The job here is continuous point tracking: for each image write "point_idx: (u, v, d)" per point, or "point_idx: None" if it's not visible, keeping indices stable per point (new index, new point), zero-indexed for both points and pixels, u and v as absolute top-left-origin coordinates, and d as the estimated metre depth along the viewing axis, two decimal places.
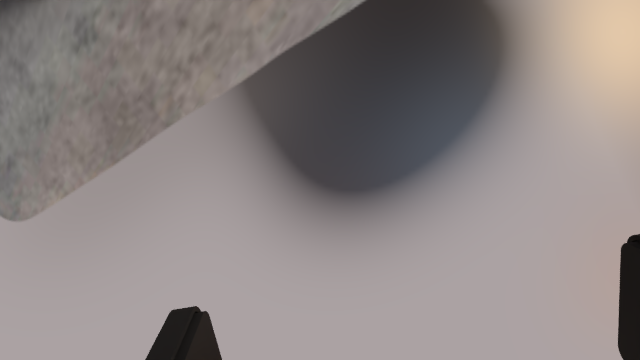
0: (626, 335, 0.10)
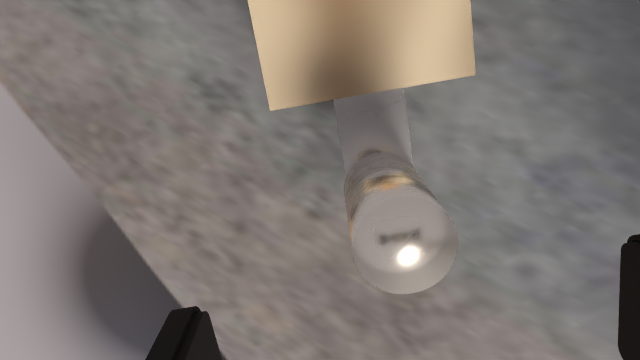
0: (626, 335, 0.10)
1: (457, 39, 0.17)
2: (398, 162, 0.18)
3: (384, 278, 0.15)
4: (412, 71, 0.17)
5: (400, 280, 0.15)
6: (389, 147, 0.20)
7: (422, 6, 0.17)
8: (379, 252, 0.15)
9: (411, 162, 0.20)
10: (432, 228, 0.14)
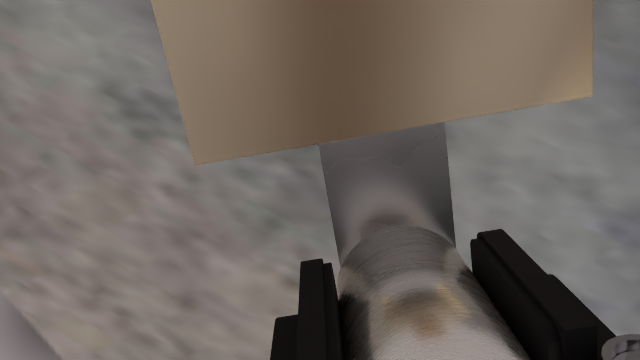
0: None
1: (562, 26, 0.08)
2: (437, 255, 0.10)
3: None
4: (470, 89, 0.09)
5: None
6: (415, 216, 0.11)
7: None
8: None
9: (453, 241, 0.12)
10: None
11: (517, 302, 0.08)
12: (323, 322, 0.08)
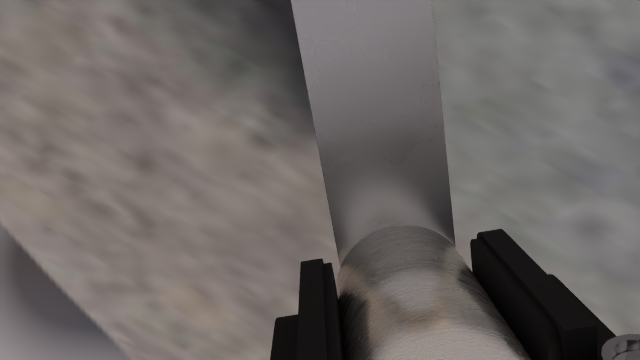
0: None
1: None
2: (437, 254, 0.10)
3: None
4: None
5: None
6: (415, 215, 0.11)
7: None
8: None
9: (452, 240, 0.12)
10: None
11: (517, 303, 0.08)
12: (323, 322, 0.08)
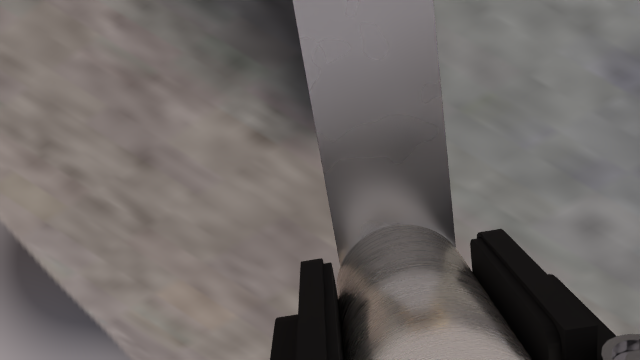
0: None
1: None
2: (437, 254, 0.10)
3: None
4: None
5: None
6: (415, 215, 0.11)
7: None
8: None
9: (453, 240, 0.12)
10: None
11: (517, 303, 0.08)
12: (323, 322, 0.08)
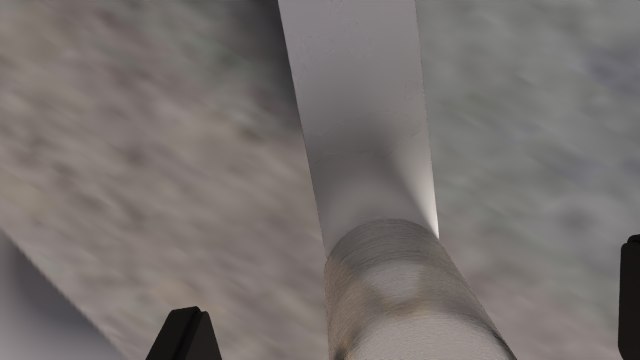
0: (626, 335, 0.10)
1: None
2: (420, 246, 0.10)
3: None
4: None
5: None
6: (400, 209, 0.12)
7: None
8: None
9: (436, 233, 0.12)
10: None
11: None
12: None
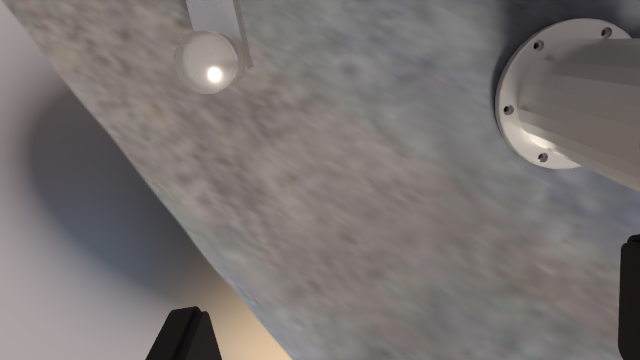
0: (626, 335, 0.10)
1: None
2: (223, 32, 0.29)
3: (195, 83, 0.25)
4: None
5: (204, 84, 0.25)
6: (224, 28, 0.30)
7: None
8: (190, 66, 0.25)
9: (240, 39, 0.30)
10: (218, 49, 0.25)
11: None
12: None
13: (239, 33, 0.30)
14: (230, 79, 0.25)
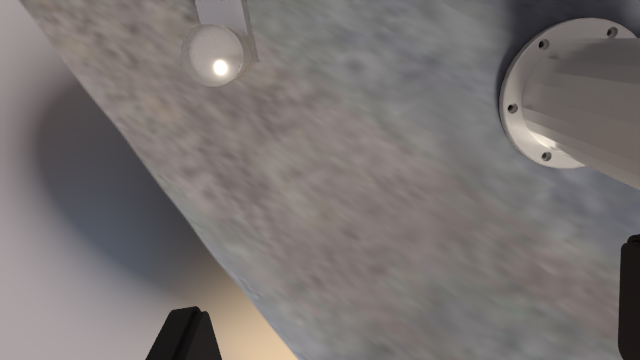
0: (626, 335, 0.10)
1: None
2: None
3: (201, 76, 0.26)
4: None
5: (210, 77, 0.26)
6: (231, 22, 0.31)
7: None
8: (196, 58, 0.25)
9: (247, 33, 0.31)
10: (225, 43, 0.25)
11: None
12: None
13: (245, 28, 0.31)
14: (236, 72, 0.26)
